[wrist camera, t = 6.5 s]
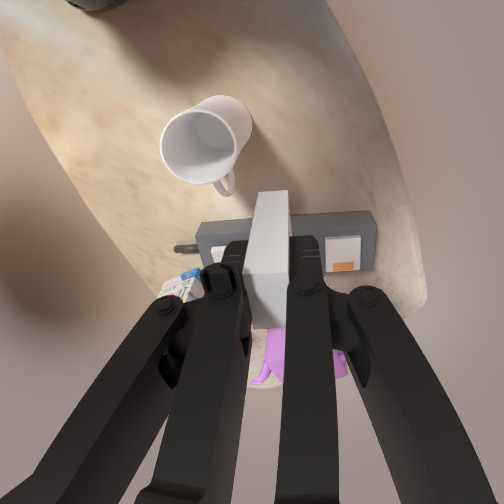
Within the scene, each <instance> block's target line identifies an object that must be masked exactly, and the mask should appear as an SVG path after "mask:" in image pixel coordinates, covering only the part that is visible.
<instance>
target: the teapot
mask: <svg viewBox="0 0 504 504" xmlns="http://www.w3.org/2000/svg"><path fill="white" fill-rule="evenodd" d="M285 331H286V328H270V329H268V331H267V342H266V353H265V360H264V363H263V367H262V370H261V372H260V374H259V376H258V377H257V378H256V379H254V380H253V381H251V382H250V384H251V385H257V384H260V383H262V382H264V381H265V380H266V379H267V378H268V376H269V375H270V373H271V371H272V372H273V373H274V374H275V375H276V376H277V377H278V379H279V380H280V381H281V382H282V383H283V378H284V356H285ZM333 359H334V371H335V379H337V378H340V377H344V376H347V375H348V374H347V366H346V365H347V364H346V359H345V356H344V354H343V351H340V350H335V349H333Z"/></svg>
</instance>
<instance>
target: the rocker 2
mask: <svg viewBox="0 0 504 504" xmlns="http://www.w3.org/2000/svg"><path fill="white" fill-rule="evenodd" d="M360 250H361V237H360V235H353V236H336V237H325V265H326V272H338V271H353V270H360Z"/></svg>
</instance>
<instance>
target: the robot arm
mask: <svg viewBox="0 0 504 504" xmlns="http://www.w3.org/2000/svg"><path fill="white" fill-rule="evenodd" d="M65 1H67V2H68V3H69V4H70V5H72V6H73V7H75V8H77V9H80V10H85V11H94V12H97V11H105V10H109V9H112V8H114V7H117V6H119V5H121V4H123V3H124V2H126V1H127V0H65ZM199 276H200V280H201V283H202V286H203V289H204V292H205V293H204V296H203V297H201V298H199V299H196V300H192V301H188V302H184V303H183V301H182V299H181V298H180V297H178V296H175V295H166V296H162V297H160V298H158V299H156V300H155V301H154V302H153V303H152V304H151V305H150V306H149V307H148V309H147V310H146V311H145V313H144V314H143V315H142V317H141V318H140V319H139V321H138V322H137V323H136V325H135V326H134V327H133V329H132V330H131V331H130V333H129V334H128V335H127V336H126V338H125V339H124V341H123V342H122V343H121V345H120V346H119V347H118V349H117V350H116V351H115V353H114V354H113V356H112V357H111V358H110V360H109V361H108V362H107V364H106V365H105V367H104V368H103V369H102V371H101V372H100V373H99V375H98V376H97V378H96V379H95V380H94V382H93V383H92V385H91V386H90V388H89V389H88V390H87V392H86V393H85V395H84V396H83V398H82V399H81V401H80V402H79V403H78V405H77V407H76V408H75V409H74V411H73V412H72V414H71V415H70V417H69V418H68V420H67V421H66V423H65V424H64V426H63V427H62V429H61V430H60V432H59V433H58V435H57V436H56V438H55V439H54V441H53V442H52V444H51V446H50V447H49V449H48V450H47V452H46V453H45V455H44V456H43V458H42V460H41V461H40V463H39V464H38V466H37V468H36V469H35V471H34V472H33V474H32V475H31V476H29V477H28V478H27V479H26V480H25V481H23V482H22V483H20V484H19V485H18V486H17V487H15V488H14V489H12V490H11V491H10V492H9V493H7V494H6V495H5V496H3V497H2V498H1V499H0V504H118V503H119V502H120V500H121V498H122V496H123V494H124V493H125V491H126V489H127V487H128V486H129V484H130V482H131V480H132V479H133V477H134V475H135V473H136V472H137V470H138V468H139V466H140V464H141V463H142V461H143V459H144V457H145V456H146V454H147V452H148V450H149V448H150V447H151V445H152V443H153V441H154V440H155V438H156V436H157V434H158V432H159V431H160V429H161V427H162V425H163V423H164V421H165V420H166V418H167V416H168V415H169V416H168V420H167V423H166V427H165V431H164V435H163V439H162V442H161V446H160V450H159V454H158V458H157V462H156V465H155V469H154V474H153V477H152V480H151V483H150V484H149V485H148V486H147V487H145V488H144V489H142V490H141V491H140V492H139V494H138V495H137V497H136V500H135V502H134V504H230V503H231V497H232V490H233V483H234V475H235V468H236V461H237V453H238V446H239V439H240V432H241V424H242V417H243V409H244V402H245V394H246V386H247V378H248V371H249V363H250V355H251V347H252V334H251V324H253V329H270V328H286V331H285V356H284V378H283V397H282V414H281V430H280V445H279V457H278V470H277V482H276V494H275V501H274V504H340V503H339V452H338V424H337V423H338V421H337V402H336V386H335V371H334V359H333V349H335V350H340V351H343V354H344V356H345V359H346V361H347V364H348V366H349V368H350V371H351V373H352V376H353V378H354V380H355V383H356V385H357V388H358V390H359V392H360V395H361V397H362V400H363V402H364V405H365V407H366V410H367V412H368V415H369V418H370V420H371V423H372V425H373V428H374V430H375V433H376V436H377V438H378V441H379V444H380V446H381V448H382V451H383V454H384V457H385V459H386V462H387V465H388V468H389V470H390V473H391V476H392V479H393V482H394V484H395V487H396V490H397V493H398V496H399V499H400V502H401V504H498V503H497V502H496V499H495V497H494V494H493V492H492V489H491V487H490V484H489V482H488V479H487V477H486V474H485V472H484V470H483V467H482V465H481V463H480V461H479V459H478V456H477V454H476V452H475V450H474V448H473V445H472V443H471V441H470V439H469V437H468V435H467V433H466V431H465V429H464V427H463V425H462V423H461V421H460V419H459V417H458V415H457V413H456V411H455V409H454V407H453V405H452V403H451V402H450V400H449V398H448V396H447V394H446V392H445V390H444V389H443V387H442V385H441V383H440V382H439V380H438V378H437V376H436V374H435V373H434V371H433V369H432V368H431V366H430V364H429V363H428V361H427V359H426V357H425V355H424V354H423V352H422V350H421V349H420V347H419V346H418V344H417V342H416V341H415V339H414V337H413V336H412V334H411V333H410V331H409V329H408V328H407V326H406V325H405V323H404V321H403V320H402V318H401V317H400V315H399V314H398V312H397V311H396V309H395V307H394V306H393V304H392V303H391V301H390V300H389V298H388V297H387V295H386V294H385V293H384V292H383V291H382V290H381V289H378V288H376V287H373V286H368V285H367V286H359V287H357V288H355V289H353V290H352V291H351V292H350V293H349V294H345V293H340V292H336V291H334V290H332V289H330V288H329V287H328V286H327V285H326V284H325V282H324V279H323V272H322V265H321V257H320V250H319V243H318V241H317V239H316V238H315V237H314V236H313V235H304V236H292V230H291V218H290V207H289V197H288V190H280V191H268V192H258V197H257V202H256V207H255V212H254V217H253V222H252V227H251V232H250V237H249V240H239V241H231V242H230V243H229V244H228V245H227V246H226V248H225V250H224V253H223V257H222V260H221V262H217V263H213V264H211V265H208V266H206V267H205V268H204V269H203V270H202V271H201V272H200V274H199Z"/></svg>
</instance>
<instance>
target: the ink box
mask: <svg viewBox="0 0 504 504" xmlns="http://www.w3.org/2000/svg"><path fill="white" fill-rule="evenodd" d="M200 272H201V270H200V269H199V268H196V269H194V270H191V271H189V272H187V273H185V274H182V275H180V276H178V277H176V278H173V279H171V280H169V281H167V282H165V283H164V285H163V287H162V289H161V291H160V294H159V296H158V298H160V297H162V296H166V295H175V296H178V297H180V298H181V299H182V301H183V303H184V302H188V301H192V300H196V299H199V298H201V297H203V296H204V293H205V292H204V289H203V286H202V283H201V280H200V276H199V274H200ZM158 298H157V299H158Z"/></svg>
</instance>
